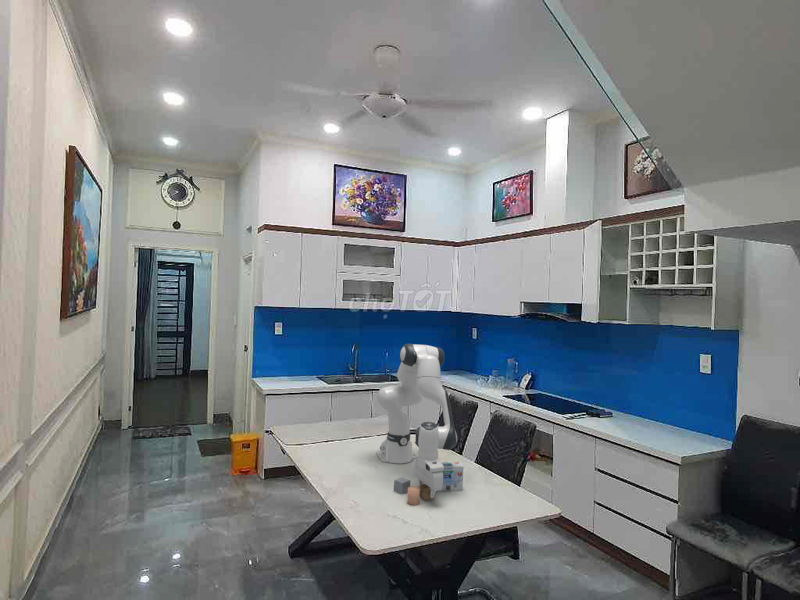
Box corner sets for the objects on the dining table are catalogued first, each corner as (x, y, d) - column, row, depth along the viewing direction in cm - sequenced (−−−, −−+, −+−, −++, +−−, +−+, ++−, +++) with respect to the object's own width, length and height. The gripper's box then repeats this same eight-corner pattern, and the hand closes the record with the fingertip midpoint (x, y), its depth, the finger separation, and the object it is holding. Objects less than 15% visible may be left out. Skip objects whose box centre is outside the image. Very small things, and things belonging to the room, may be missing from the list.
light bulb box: (440, 491, 224) (441, 467, 224) (436, 485, 231) (436, 462, 231) (463, 490, 226) (464, 466, 226) (458, 484, 233) (459, 461, 233)
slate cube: (393, 491, 223) (394, 479, 223) (401, 488, 226) (402, 477, 226) (402, 494, 219) (402, 483, 219) (409, 491, 223) (410, 480, 223)
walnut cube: (418, 496, 218) (419, 484, 218) (429, 494, 220) (429, 483, 220) (424, 500, 213) (424, 488, 213) (434, 499, 215) (435, 487, 215)
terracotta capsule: (405, 501, 212) (405, 487, 212) (415, 499, 214) (416, 485, 214) (410, 506, 207) (411, 491, 207) (421, 504, 209) (421, 489, 209)
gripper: (410, 455, 225) (409, 486, 225) (432, 469, 206) (431, 503, 206) (423, 453, 227) (422, 484, 227) (446, 468, 209) (445, 501, 209)
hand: (426, 493), depth 217 cm, fingers open, 7 cm apart
